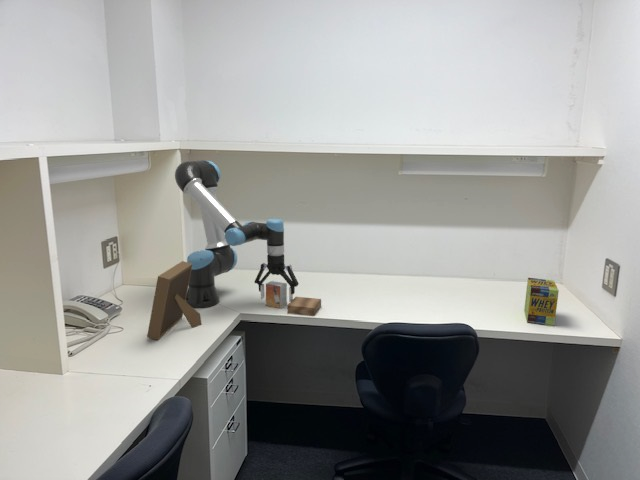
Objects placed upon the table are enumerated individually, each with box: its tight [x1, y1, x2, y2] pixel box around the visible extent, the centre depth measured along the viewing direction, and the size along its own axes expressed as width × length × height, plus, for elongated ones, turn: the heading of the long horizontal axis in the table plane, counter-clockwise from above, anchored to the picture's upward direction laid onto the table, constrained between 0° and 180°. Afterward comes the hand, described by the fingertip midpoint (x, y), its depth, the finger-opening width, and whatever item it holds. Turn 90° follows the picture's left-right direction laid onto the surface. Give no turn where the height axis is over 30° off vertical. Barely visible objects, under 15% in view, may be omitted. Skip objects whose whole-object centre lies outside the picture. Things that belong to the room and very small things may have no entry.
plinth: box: [286, 296, 322, 317], centre depth 200 cm, size 12×12×4 cm
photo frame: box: [146, 260, 202, 341], centre depth 176 cm, size 15×22×25 cm
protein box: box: [523, 277, 559, 327], centre depth 192 cm, size 10×15×16 cm
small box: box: [265, 280, 288, 309], centre depth 205 cm, size 8×6×10 cm
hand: (276, 299), depth 205 cm, fingers open, 13 cm apart
